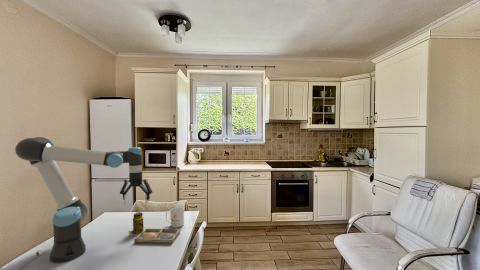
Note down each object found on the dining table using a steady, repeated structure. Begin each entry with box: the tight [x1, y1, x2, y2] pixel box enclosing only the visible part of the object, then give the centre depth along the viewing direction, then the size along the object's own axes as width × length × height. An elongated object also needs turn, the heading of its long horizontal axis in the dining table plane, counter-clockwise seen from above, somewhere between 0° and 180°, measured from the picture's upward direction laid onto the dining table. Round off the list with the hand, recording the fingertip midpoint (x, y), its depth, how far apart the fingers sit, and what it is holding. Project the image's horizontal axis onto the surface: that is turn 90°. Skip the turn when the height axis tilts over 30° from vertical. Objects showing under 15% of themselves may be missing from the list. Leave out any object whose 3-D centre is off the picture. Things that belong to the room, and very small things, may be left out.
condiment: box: [128, 211, 145, 237], centre depth 146 cm, size 7×8×12 cm
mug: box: [165, 206, 185, 229], centre depth 156 cm, size 12×9×11 cm
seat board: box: [134, 228, 181, 245], centre depth 138 cm, size 14×22×2 cm, turn 87°
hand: (136, 204), depth 146 cm, fingers open, 13 cm apart
